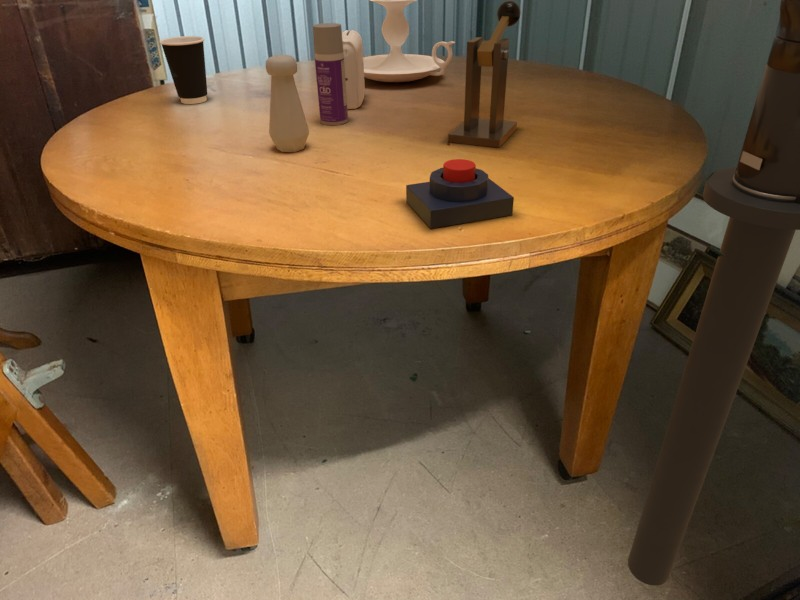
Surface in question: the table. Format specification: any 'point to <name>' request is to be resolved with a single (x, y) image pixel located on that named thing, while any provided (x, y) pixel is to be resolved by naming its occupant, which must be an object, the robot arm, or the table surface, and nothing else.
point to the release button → (459, 171)
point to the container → (330, 73)
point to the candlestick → (396, 62)
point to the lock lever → (498, 31)
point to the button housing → (458, 200)
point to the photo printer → (353, 68)
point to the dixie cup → (187, 67)
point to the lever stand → (474, 127)
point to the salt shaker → (285, 106)
